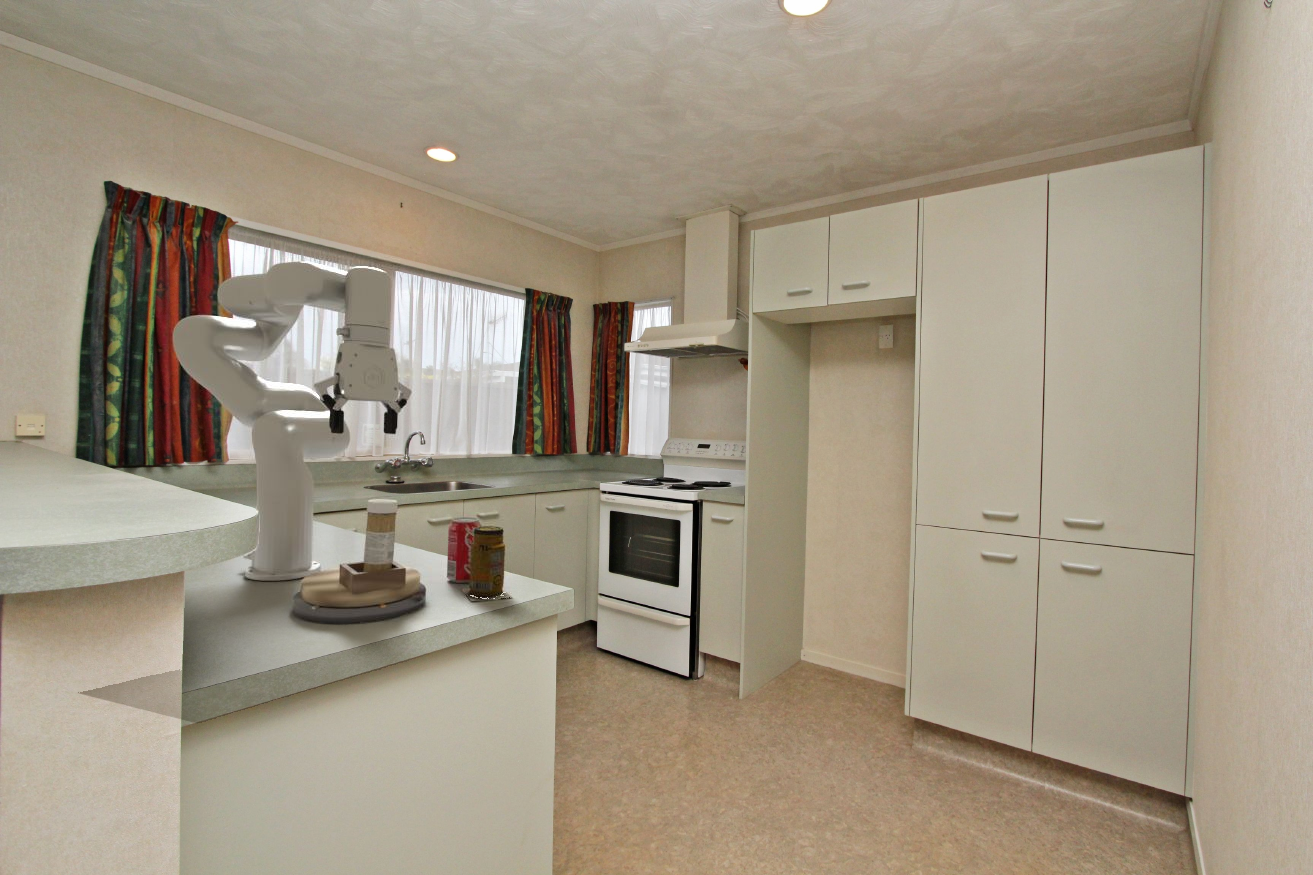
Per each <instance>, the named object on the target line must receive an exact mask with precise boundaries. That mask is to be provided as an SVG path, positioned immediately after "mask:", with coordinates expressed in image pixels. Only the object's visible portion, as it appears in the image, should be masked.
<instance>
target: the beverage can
mask: <svg viewBox="0 0 1313 875" xmlns="http://www.w3.org/2000/svg"><path fill="white" fill-rule="evenodd" d="M481 526H482V524H481V523H480V519H479V518H477V517H476V518H475V517H467V516H466V517H465V516H464V517H463V516H461V517H455V518H452V520H451V522H450V524H449V526H448V533H447V534H448V537H447V564H446V565H447V569H446V578H447V579H448V580H450V581H451V582H453V583H458V584H459V583H460V584H462V583H463V584H467V583H470V562H471V544H472V543H473V541H474V539H473V537H474V529H475V528H477V527H481Z"/></svg>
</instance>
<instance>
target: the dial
mask: <svg viewBox="0 0 1313 875" xmlns="http://www.w3.org/2000/svg"><path fill="white" fill-rule="evenodd" d="M363 570H364V560H363V561H355V562H346V563H340V564H339V567H335V568H330V569H329V568H328V569H325V570H320V571H319V572H317V573H314V574H311V575H309V576H307V577H303V579H301V581H300V591H301V599H302V600H303V601H305V602H307V603H310V604H314V605H319V606H327V607H361V606H371V605H378V604H384V603H389V602H394V601H398V600H401V599H404V598H407V597H409V596H412V595H414V594H415V593H417V592H418V591H419V589H420V583H421V573H420V572H419V571H418V570H416V569H414V568H411V567H408V566H407V567H406V566H403V565H401V564H400V563H398V562H397V561H395V560H393V563H392V569H385V570H376V571H368V572H363Z"/></svg>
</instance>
